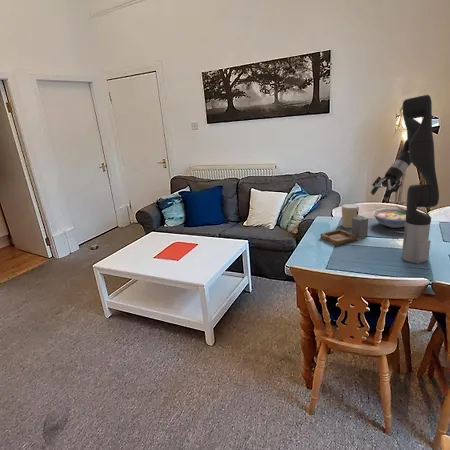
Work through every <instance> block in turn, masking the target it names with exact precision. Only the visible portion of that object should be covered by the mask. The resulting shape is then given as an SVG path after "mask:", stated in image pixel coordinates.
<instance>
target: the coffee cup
mask: <svg viewBox="0 0 450 450" xmlns="http://www.w3.org/2000/svg"><path fill="white" fill-rule="evenodd" d="M359 209H360V206H359V205H358V204H356V203H345V204H343V205H342V206H341V223H342V227H343V228H347V229H352V218H354V217H357V215H359Z"/></svg>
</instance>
